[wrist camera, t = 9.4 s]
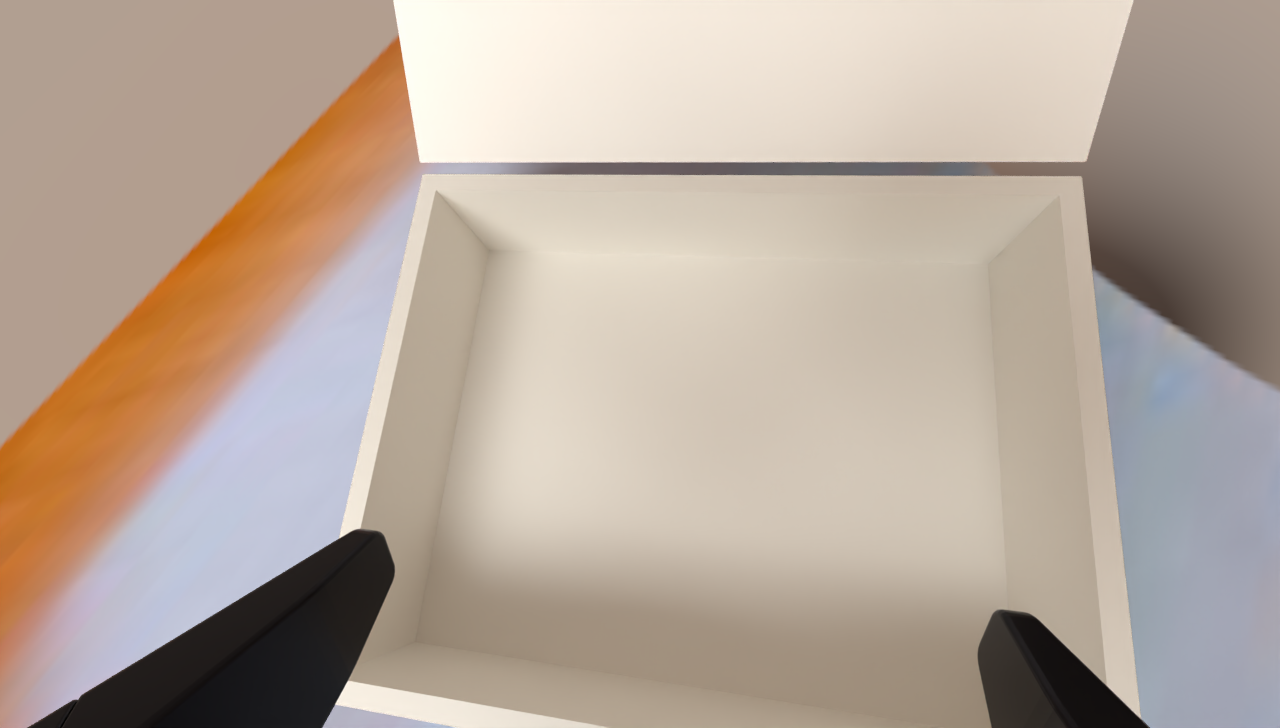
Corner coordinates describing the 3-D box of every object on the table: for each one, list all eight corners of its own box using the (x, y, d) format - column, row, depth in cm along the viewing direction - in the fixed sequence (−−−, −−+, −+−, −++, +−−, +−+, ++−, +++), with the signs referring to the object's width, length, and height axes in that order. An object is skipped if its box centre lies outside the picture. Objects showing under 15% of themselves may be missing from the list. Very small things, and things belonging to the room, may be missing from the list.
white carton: (1029, 757, 16) (1156, 858, 11) (405, 654, 20) (302, 698, 15) (997, 256, 20) (1081, 176, 15) (484, 243, 24) (422, 174, 19)
